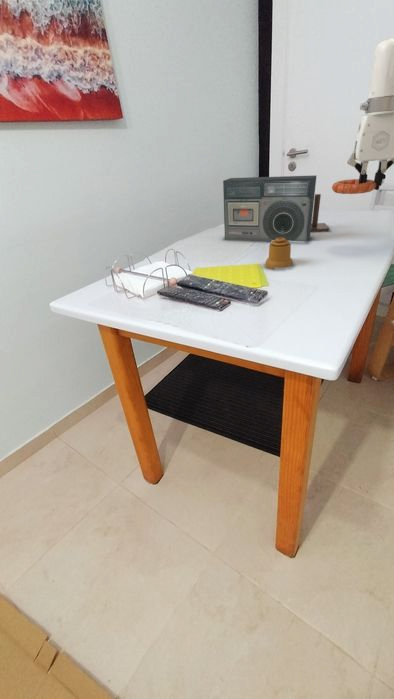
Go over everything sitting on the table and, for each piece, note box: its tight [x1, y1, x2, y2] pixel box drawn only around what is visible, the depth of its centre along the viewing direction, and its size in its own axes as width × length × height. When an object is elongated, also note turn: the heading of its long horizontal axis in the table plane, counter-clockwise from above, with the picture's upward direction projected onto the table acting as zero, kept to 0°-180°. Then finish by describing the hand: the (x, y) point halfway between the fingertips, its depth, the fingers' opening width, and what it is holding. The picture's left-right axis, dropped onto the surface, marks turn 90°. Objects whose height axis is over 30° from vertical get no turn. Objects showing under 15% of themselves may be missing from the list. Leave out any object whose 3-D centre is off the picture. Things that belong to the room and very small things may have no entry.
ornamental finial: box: [265, 238, 294, 270], centre depth 94 cm, size 8×8×8 cm
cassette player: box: [222, 175, 317, 243], centre depth 115 cm, size 29×7×20 cm, turn 65°
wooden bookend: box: [311, 193, 330, 233], centre depth 124 cm, size 9×9×12 cm
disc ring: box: [331, 178, 377, 195], centre depth 92 cm, size 11×11×2 cm
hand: (368, 189), depth 91 cm, fingers closed on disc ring, 2 cm apart
